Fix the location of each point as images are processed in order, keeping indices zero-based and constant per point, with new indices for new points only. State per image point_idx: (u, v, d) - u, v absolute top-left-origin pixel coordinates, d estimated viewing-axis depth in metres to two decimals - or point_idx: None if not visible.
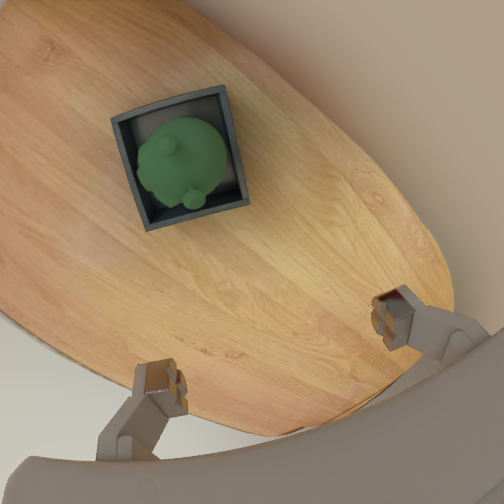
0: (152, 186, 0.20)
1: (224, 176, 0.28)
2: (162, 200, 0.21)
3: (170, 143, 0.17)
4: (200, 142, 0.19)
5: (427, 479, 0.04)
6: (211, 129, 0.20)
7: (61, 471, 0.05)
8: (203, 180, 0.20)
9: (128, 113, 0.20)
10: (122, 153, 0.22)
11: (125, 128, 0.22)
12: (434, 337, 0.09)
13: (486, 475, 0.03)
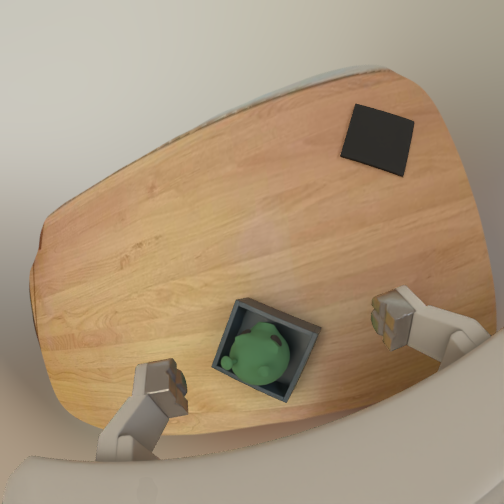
0: (253, 338, 0.31)
1: None
2: (242, 336, 0.32)
3: (262, 376, 0.28)
4: (256, 381, 0.30)
5: (428, 479, 0.04)
6: None
7: (61, 471, 0.05)
8: (235, 369, 0.31)
9: (311, 346, 0.32)
10: (291, 325, 0.33)
11: None
12: (434, 337, 0.09)
13: (486, 475, 0.03)
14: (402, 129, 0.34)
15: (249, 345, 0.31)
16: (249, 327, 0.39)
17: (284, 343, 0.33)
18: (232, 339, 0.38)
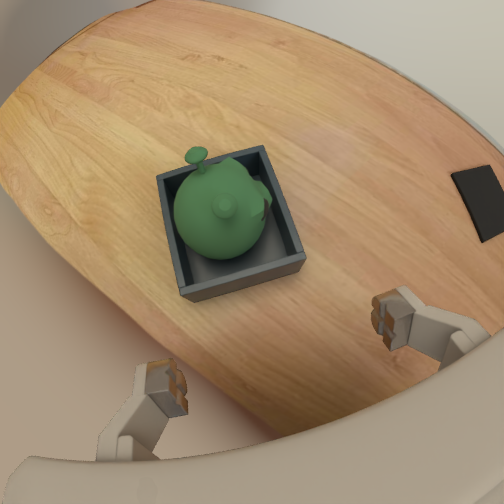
0: (247, 175, 0.20)
1: None
2: (237, 163, 0.21)
3: (217, 205, 0.17)
4: (193, 217, 0.19)
5: (428, 479, 0.04)
6: (187, 238, 0.20)
7: (61, 471, 0.05)
8: (190, 180, 0.19)
9: (285, 262, 0.22)
10: (289, 219, 0.22)
11: (291, 251, 0.24)
12: (434, 337, 0.09)
13: (486, 475, 0.03)
14: None
15: (237, 173, 0.20)
16: None
17: (262, 226, 0.22)
18: None
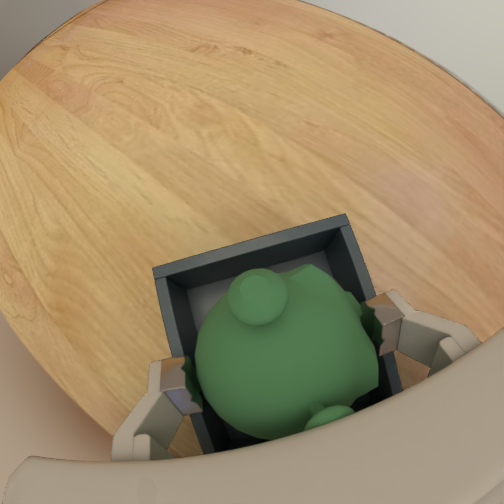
0: (350, 312, 0.10)
1: (208, 309, 0.17)
2: (328, 280, 0.10)
3: None
4: (248, 417, 0.08)
5: (428, 479, 0.04)
6: None
7: (61, 471, 0.05)
8: (236, 335, 0.09)
9: None
10: (391, 360, 0.12)
11: (380, 394, 0.13)
12: (423, 343, 0.09)
13: (486, 475, 0.03)
14: None
15: (338, 317, 0.09)
16: None
17: None
18: (239, 270, 0.16)
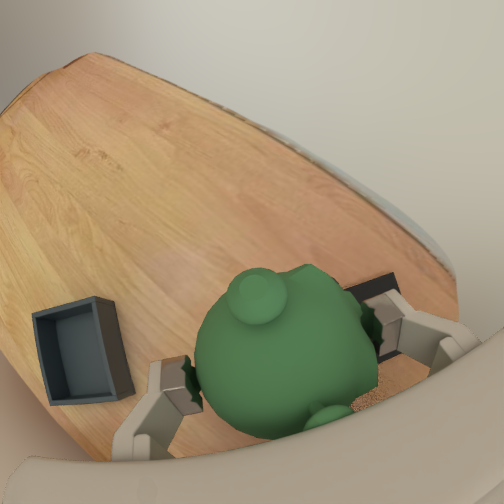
0: (350, 311, 0.10)
1: (62, 330, 0.29)
2: (327, 280, 0.10)
3: None
4: (248, 417, 0.08)
5: (427, 479, 0.04)
6: (228, 423, 0.10)
7: (61, 471, 0.05)
8: (235, 335, 0.09)
9: (104, 400, 0.23)
10: (107, 368, 0.24)
11: None
12: (423, 343, 0.09)
13: (486, 475, 0.03)
14: None
15: (337, 317, 0.09)
16: (89, 322, 0.29)
17: None
18: (68, 314, 0.28)
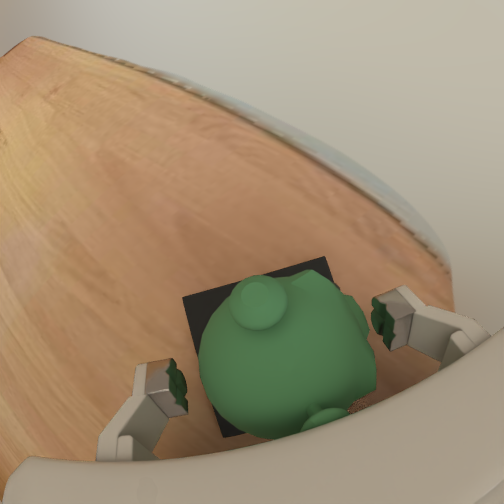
0: (350, 316, 0.10)
1: None
2: (328, 285, 0.10)
3: None
4: (248, 417, 0.08)
5: (428, 479, 0.04)
6: None
7: (61, 471, 0.05)
8: (238, 338, 0.09)
9: None
10: None
11: None
12: (434, 337, 0.09)
13: (486, 475, 0.03)
14: None
15: (337, 322, 0.09)
16: None
17: None
18: None
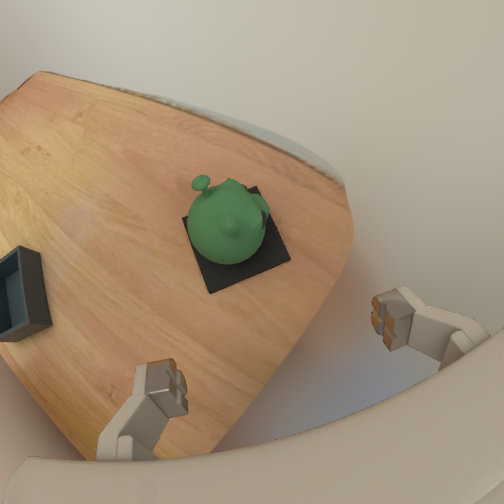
0: (245, 193, 0.24)
1: (9, 285, 0.33)
2: (236, 182, 0.25)
3: (223, 224, 0.21)
4: (204, 234, 0.23)
5: (427, 479, 0.04)
6: (201, 250, 0.25)
7: (61, 471, 0.05)
8: (198, 202, 0.23)
9: (22, 325, 0.27)
10: (24, 298, 0.28)
11: None
12: (434, 337, 0.09)
13: (486, 475, 0.03)
14: (265, 253, 0.30)
15: (237, 193, 0.24)
16: None
17: (263, 233, 0.26)
18: (10, 269, 0.32)
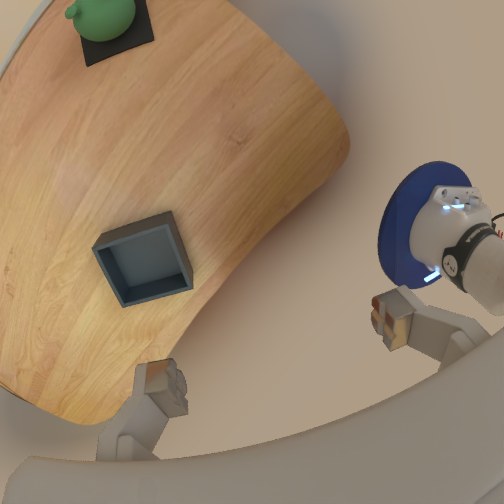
0: None
1: (134, 280, 0.40)
2: (76, 0, 0.17)
3: None
4: (109, 11, 0.18)
5: (427, 479, 0.04)
6: (120, 22, 0.20)
7: (61, 471, 0.05)
8: (84, 18, 0.18)
9: (171, 235, 0.34)
10: (143, 232, 0.33)
11: None
12: (434, 337, 0.09)
13: (486, 475, 0.03)
14: None
15: None
16: (121, 254, 0.38)
17: None
18: (117, 273, 0.38)
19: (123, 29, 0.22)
